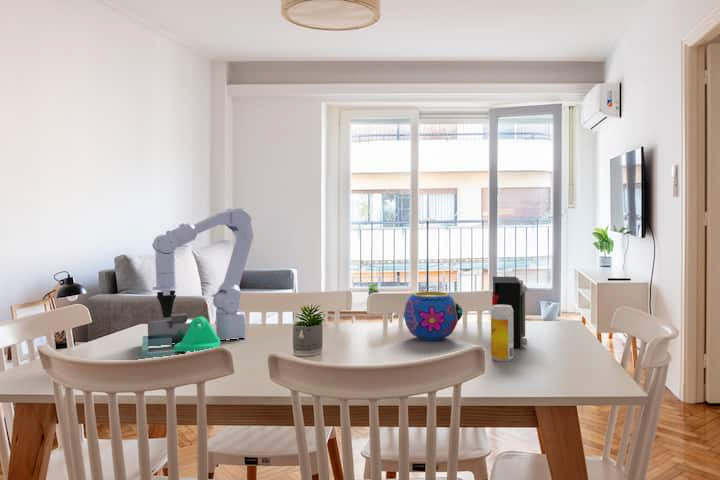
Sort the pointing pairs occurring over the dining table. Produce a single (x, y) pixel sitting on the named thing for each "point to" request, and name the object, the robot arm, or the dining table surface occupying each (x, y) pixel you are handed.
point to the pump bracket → (155, 342)
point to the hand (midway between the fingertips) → (167, 315)
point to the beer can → (502, 332)
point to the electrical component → (512, 304)
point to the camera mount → (198, 337)
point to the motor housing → (170, 327)
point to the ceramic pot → (431, 315)
